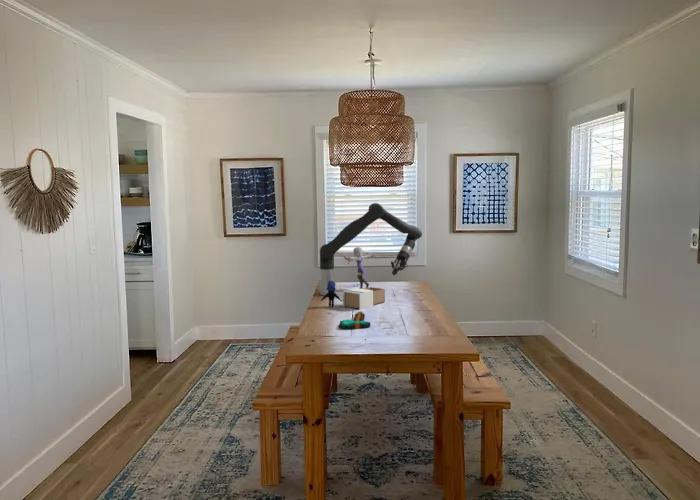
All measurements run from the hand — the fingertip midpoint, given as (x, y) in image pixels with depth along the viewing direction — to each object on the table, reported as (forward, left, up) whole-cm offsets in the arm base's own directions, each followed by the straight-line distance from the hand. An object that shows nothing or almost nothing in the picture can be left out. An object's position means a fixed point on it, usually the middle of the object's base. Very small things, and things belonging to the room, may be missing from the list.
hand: (393, 274), depth 354 cm
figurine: (-34, +6, -15) cm, 38 cm away
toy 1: (-13, -45, -15) cm, 49 cm away
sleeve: (0, -36, -15) cm, 39 cm away
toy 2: (+25, -66, -15) cm, 72 cm away
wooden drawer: (0, -29, -14) cm, 32 cm away
